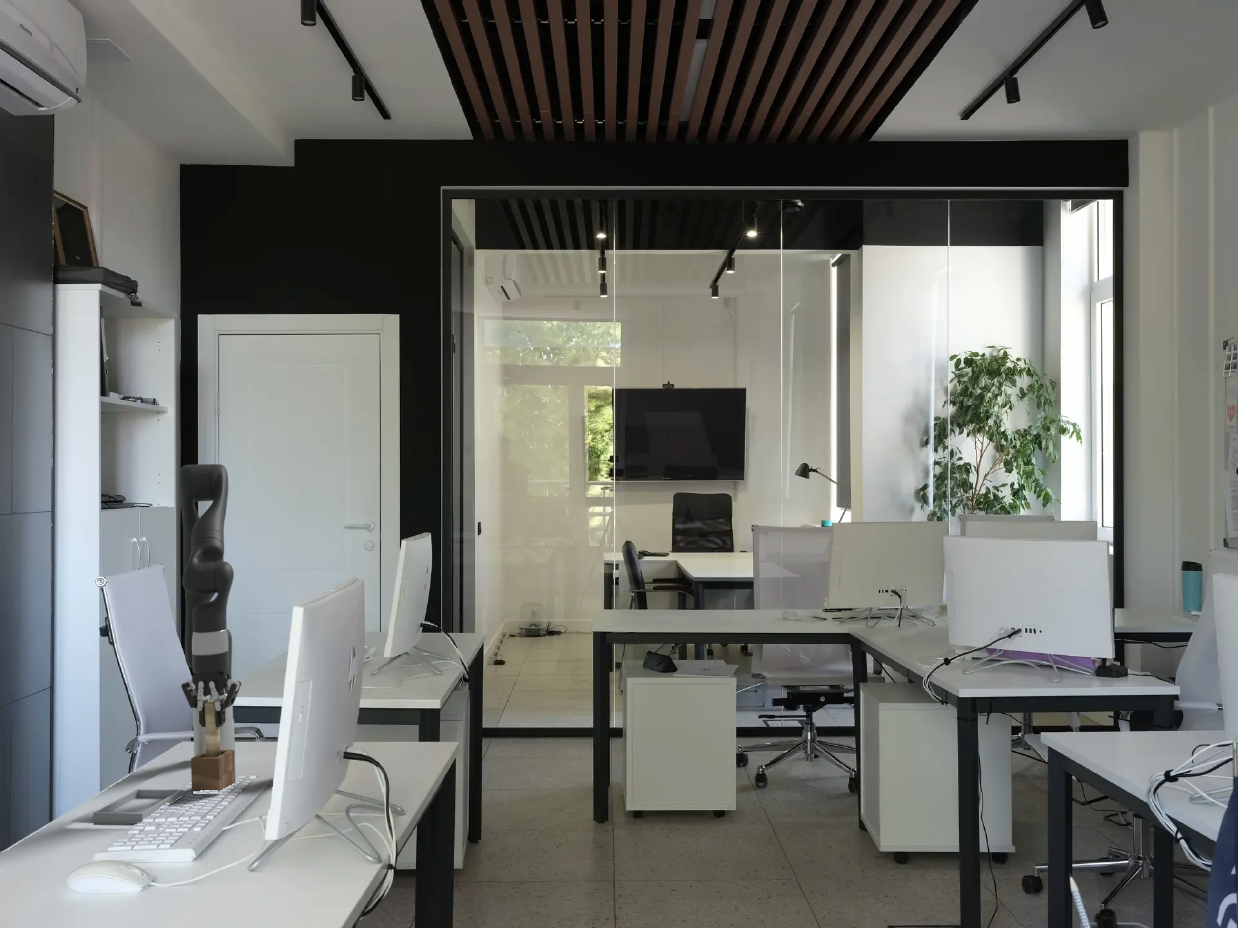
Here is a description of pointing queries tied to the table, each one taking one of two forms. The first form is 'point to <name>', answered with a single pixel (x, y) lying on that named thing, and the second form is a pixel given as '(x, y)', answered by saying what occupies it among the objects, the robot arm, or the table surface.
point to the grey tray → (108, 815)
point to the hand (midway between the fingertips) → (212, 725)
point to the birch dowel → (211, 731)
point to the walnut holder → (213, 771)
